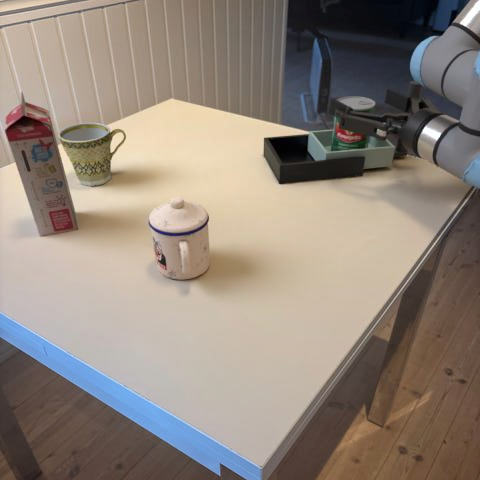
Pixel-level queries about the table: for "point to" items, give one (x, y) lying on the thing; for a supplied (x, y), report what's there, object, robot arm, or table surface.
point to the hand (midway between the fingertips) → (359, 100)
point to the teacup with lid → (180, 238)
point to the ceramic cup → (90, 151)
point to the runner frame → (305, 161)
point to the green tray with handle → (374, 155)
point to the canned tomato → (348, 138)
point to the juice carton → (40, 168)
